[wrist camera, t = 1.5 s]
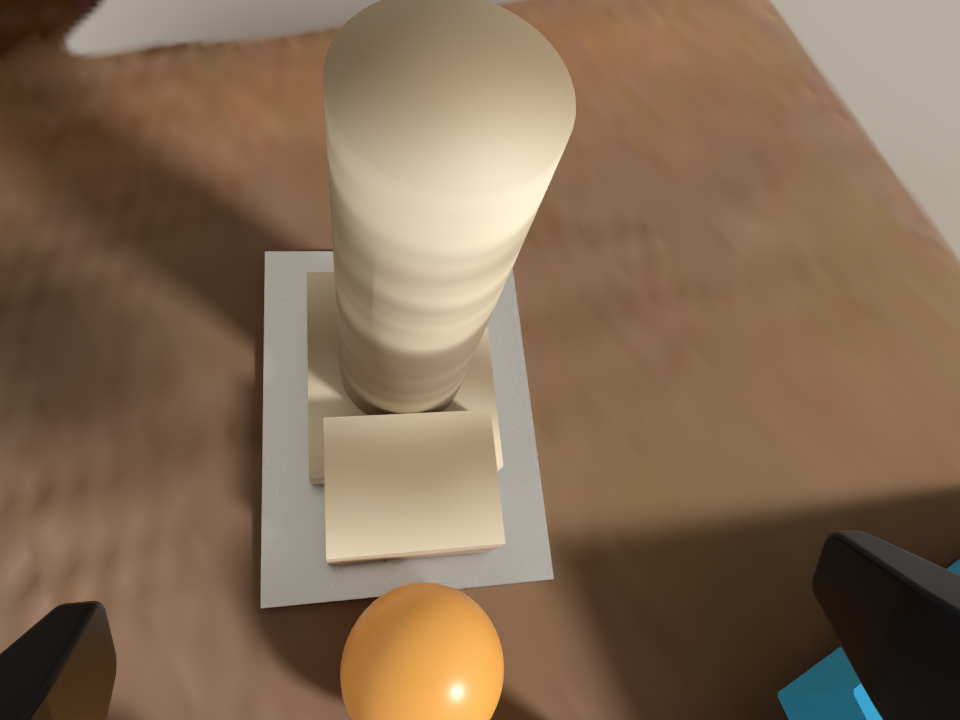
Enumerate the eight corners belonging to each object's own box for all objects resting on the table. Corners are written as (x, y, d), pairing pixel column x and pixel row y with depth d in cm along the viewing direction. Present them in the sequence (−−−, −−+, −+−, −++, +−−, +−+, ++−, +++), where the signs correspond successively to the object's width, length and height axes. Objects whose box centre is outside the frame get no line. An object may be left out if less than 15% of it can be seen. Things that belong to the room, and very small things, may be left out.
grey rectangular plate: (551, 579, 22) (553, 579, 22) (261, 608, 20) (260, 608, 20) (508, 254, 26) (510, 250, 26) (265, 255, 24) (265, 251, 24)
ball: (444, 776, 19) (468, 815, 15) (312, 699, 19) (301, 719, 15) (511, 630, 21) (549, 631, 17) (390, 560, 21) (398, 545, 17)
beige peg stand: (506, 549, 21) (711, 447, 9) (311, 567, 20) (245, 477, 8) (476, 282, 25) (597, -57, 12) (308, 284, 24) (258, -89, 11)
